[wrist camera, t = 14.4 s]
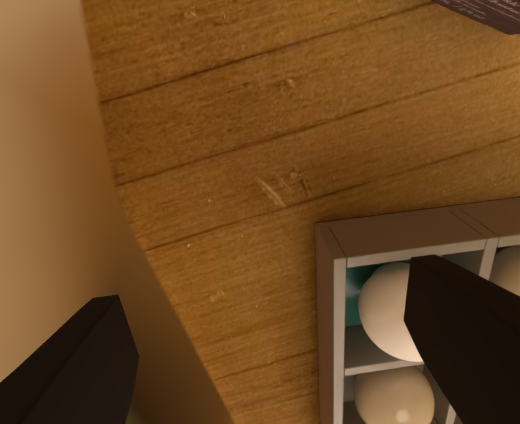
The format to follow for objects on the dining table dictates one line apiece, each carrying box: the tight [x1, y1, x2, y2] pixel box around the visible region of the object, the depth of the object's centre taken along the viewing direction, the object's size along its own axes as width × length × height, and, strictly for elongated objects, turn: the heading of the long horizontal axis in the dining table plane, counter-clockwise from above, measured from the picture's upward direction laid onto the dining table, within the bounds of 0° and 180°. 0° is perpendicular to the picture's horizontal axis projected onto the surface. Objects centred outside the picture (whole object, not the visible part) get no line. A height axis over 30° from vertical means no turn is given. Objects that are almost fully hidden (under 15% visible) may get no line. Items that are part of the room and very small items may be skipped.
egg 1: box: [353, 365, 435, 424], centre depth 21 cm, size 5×5×5 cm
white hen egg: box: [358, 262, 423, 362], centre depth 18 cm, size 5×5×5 cm
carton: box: [315, 197, 520, 424], centre depth 22 cm, size 15×22×4 cm
